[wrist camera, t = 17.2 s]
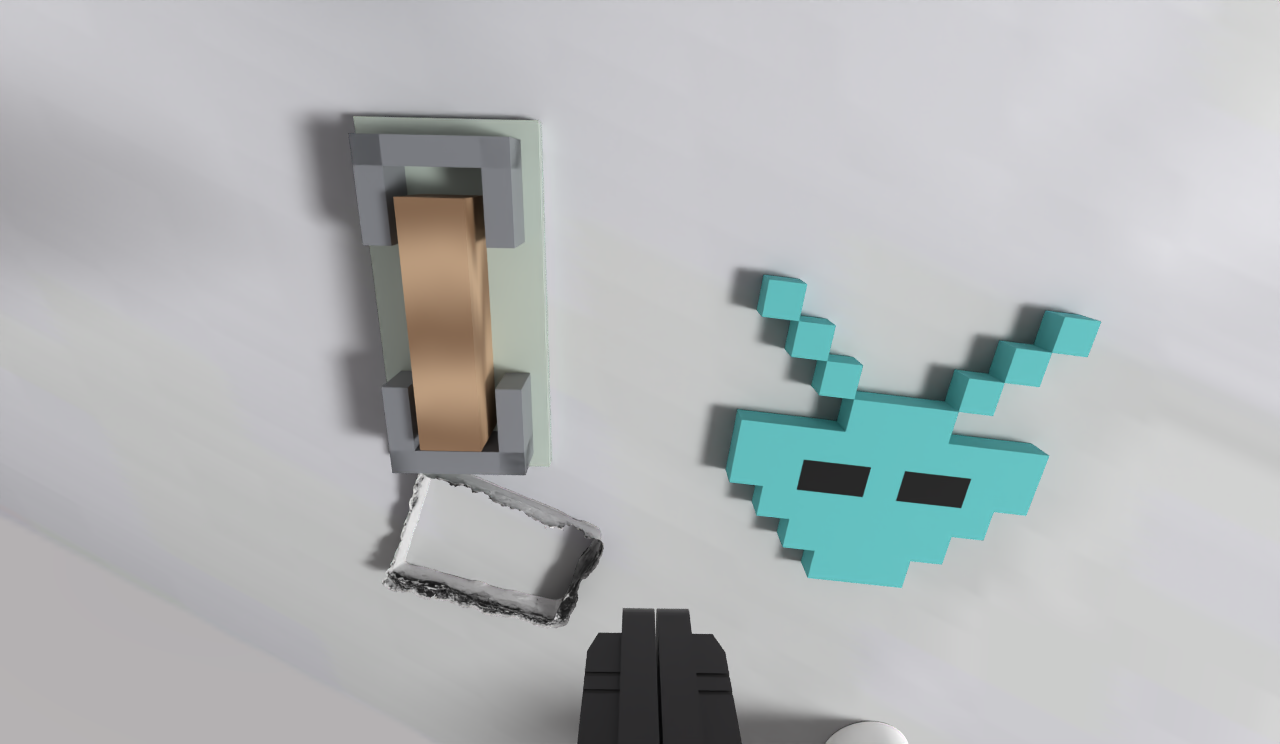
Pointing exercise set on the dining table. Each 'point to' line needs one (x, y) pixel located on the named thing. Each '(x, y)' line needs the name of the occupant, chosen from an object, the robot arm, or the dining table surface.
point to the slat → (448, 318)
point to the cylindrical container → (868, 734)
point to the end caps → (502, 188)
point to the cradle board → (509, 269)
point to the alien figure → (888, 453)
